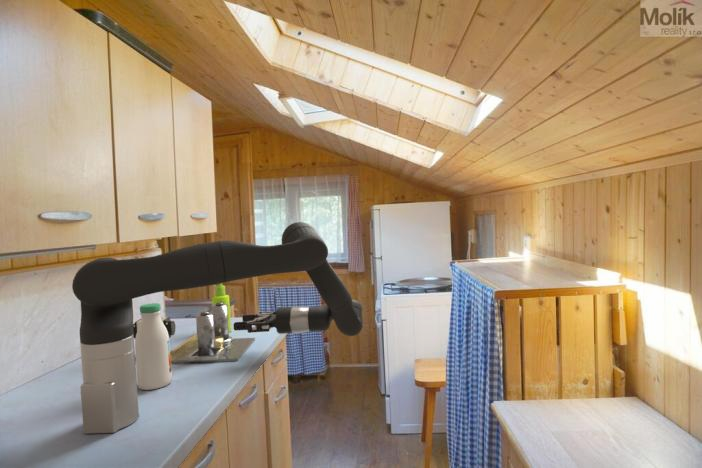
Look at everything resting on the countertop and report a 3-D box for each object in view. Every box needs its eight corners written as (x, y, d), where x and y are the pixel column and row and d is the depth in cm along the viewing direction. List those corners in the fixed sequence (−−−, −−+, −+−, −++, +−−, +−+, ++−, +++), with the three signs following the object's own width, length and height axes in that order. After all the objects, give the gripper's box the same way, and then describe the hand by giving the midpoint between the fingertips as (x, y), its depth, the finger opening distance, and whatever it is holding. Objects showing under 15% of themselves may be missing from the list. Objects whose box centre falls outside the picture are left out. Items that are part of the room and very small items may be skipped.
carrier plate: (236, 361, 116) (233, 314, 116) (166, 364, 117) (163, 316, 116) (255, 340, 137) (252, 299, 136) (195, 342, 137) (193, 302, 137)
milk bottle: (167, 389, 99) (162, 306, 98) (133, 392, 98) (127, 309, 97) (175, 377, 107) (170, 300, 106) (143, 380, 106) (138, 302, 105)
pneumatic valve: (172, 355, 125) (170, 316, 124) (131, 358, 123) (129, 319, 123) (178, 349, 130) (175, 312, 130) (139, 353, 129) (136, 315, 128)
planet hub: (212, 357, 118) (209, 313, 118) (195, 358, 118) (193, 314, 118) (218, 352, 123) (215, 310, 123) (202, 353, 123) (199, 310, 123)
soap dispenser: (208, 334, 147) (205, 278, 146) (224, 329, 153) (221, 275, 152) (218, 336, 144) (215, 279, 143) (234, 331, 149) (231, 276, 149)
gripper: (296, 302, 127) (244, 304, 127) (288, 312, 113) (229, 315, 113) (298, 326, 127) (246, 328, 127) (290, 339, 113) (231, 342, 113)
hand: (238, 322), depth 120 cm, fingers open, 8 cm apart
